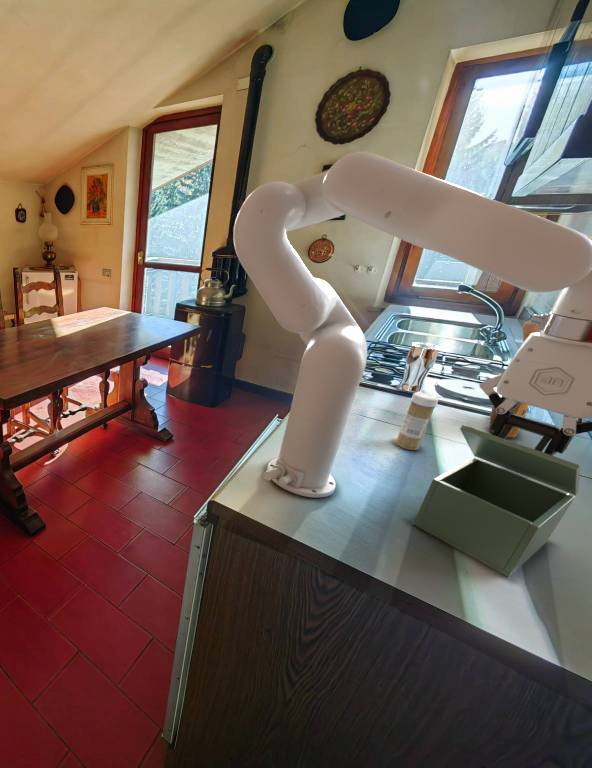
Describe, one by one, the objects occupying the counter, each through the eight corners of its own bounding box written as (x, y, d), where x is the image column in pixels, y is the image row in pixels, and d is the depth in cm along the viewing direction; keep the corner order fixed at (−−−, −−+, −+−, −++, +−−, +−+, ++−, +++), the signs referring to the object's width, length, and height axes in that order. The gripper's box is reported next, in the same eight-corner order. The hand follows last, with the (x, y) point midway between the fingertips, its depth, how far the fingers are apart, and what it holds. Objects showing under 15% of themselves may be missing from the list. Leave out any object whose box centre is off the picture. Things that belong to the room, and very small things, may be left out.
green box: (508, 577, 59) (538, 527, 55) (412, 524, 69) (432, 478, 66) (546, 542, 66) (575, 496, 62) (453, 498, 76) (474, 456, 72)
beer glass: (390, 386, 129) (406, 343, 123) (405, 384, 131) (421, 341, 125) (412, 395, 122) (430, 349, 117) (428, 392, 124) (446, 348, 119)
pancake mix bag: (480, 434, 100) (530, 328, 89) (482, 411, 112) (526, 316, 102) (517, 444, 96) (575, 334, 85) (515, 419, 108) (565, 320, 97)
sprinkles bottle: (421, 447, 94) (442, 396, 88) (413, 452, 91) (435, 401, 86) (398, 439, 97) (418, 389, 92) (391, 444, 95) (410, 394, 90)
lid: (576, 470, 53) (601, 436, 52) (459, 428, 63) (479, 400, 62) (575, 495, 62) (596, 467, 61) (474, 456, 72) (491, 431, 72)
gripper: (489, 319, 58) (443, 425, 65) (686, 352, 44) (600, 482, 51) (510, 315, 61) (464, 416, 69) (700, 344, 48) (617, 468, 55)
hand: (523, 443), depth 60 cm, fingers closed on lid, 5 cm apart
